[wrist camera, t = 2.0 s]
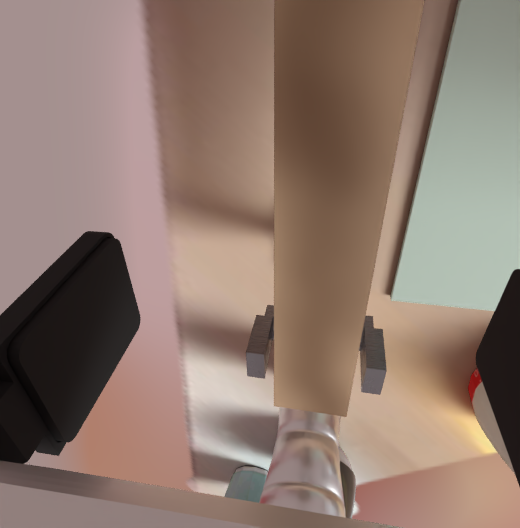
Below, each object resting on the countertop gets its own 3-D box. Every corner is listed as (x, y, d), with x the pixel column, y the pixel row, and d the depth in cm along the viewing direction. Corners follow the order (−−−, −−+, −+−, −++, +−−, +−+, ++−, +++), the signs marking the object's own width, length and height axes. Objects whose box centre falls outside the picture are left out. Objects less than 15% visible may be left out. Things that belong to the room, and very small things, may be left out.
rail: (467, -369, 9) (528, -554, 6) (346, 360, 24) (346, 417, 21) (299, -343, 10) (275, -498, 7) (283, 352, 25) (274, 405, 22)
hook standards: (457, -242, 17) (649, -641, 6) (366, 275, 33) (374, 416, 22) (286, -223, 18) (193, -528, 7) (280, 267, 34) (248, 397, 24)
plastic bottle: (271, 350, 41) (220, 586, 25) (329, 333, 38) (315, 588, 22) (300, 388, 44) (272, 622, 28) (357, 375, 41) (362, 629, 25)
